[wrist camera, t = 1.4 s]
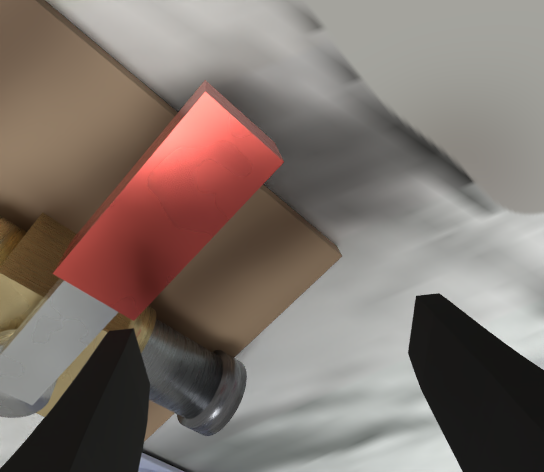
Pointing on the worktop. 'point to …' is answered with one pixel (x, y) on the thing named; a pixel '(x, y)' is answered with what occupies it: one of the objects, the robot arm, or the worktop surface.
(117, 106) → the mounting board
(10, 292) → the valve pipe
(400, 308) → the worktop surface
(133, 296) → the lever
